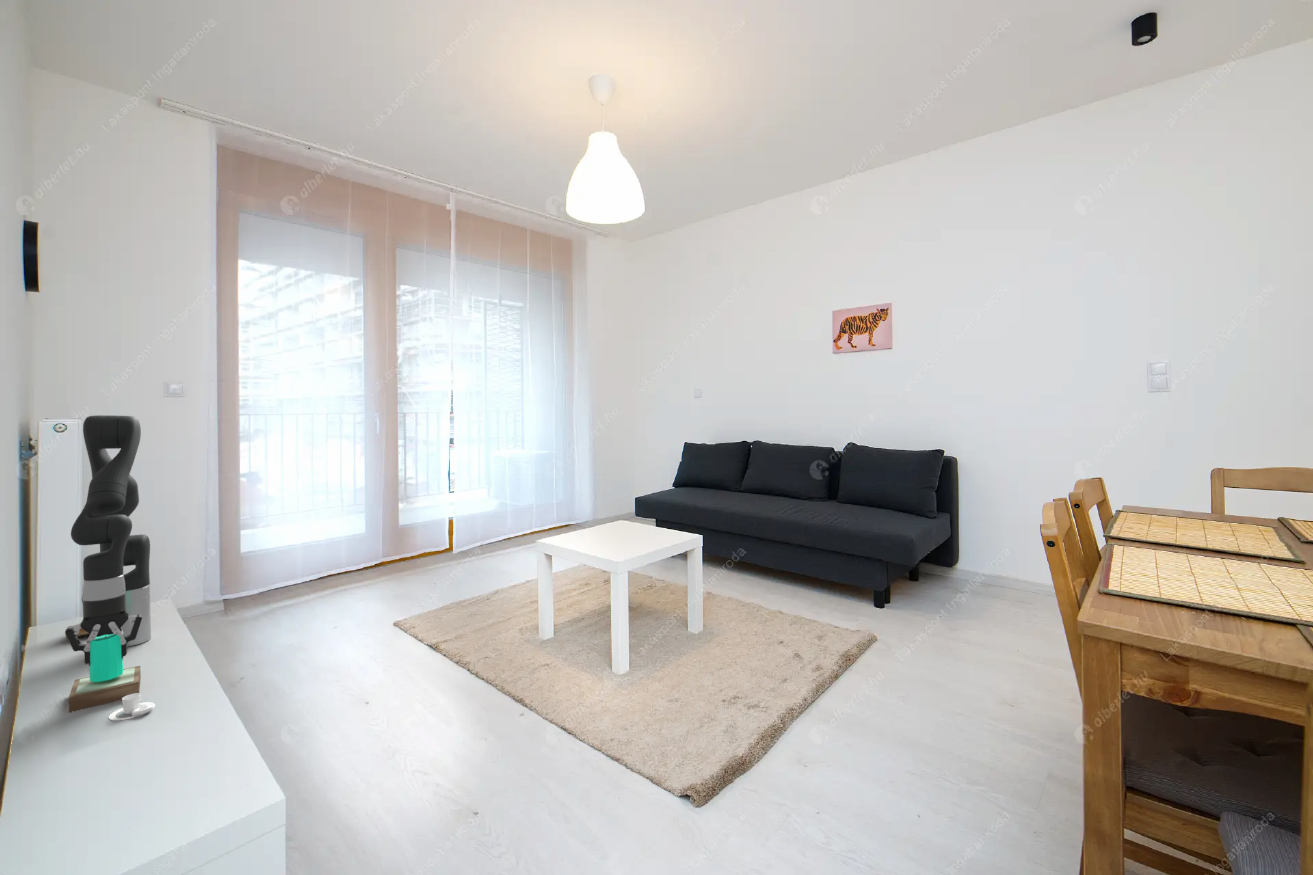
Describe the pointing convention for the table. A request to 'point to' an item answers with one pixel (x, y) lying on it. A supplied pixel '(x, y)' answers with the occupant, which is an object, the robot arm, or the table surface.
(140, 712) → the teacup and saucer
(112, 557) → the robot arm
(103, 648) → the candle
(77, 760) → the table surface
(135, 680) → the framed mirror
